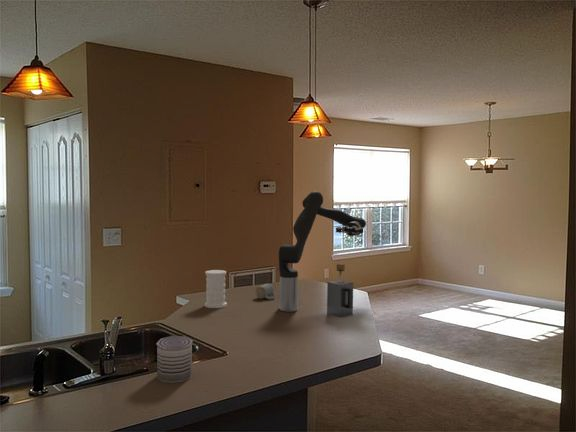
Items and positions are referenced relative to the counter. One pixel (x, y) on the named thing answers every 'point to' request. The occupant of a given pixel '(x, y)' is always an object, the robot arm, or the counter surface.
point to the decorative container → (215, 289)
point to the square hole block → (340, 298)
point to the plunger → (340, 271)
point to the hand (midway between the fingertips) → (347, 231)
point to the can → (174, 359)
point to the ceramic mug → (265, 292)
